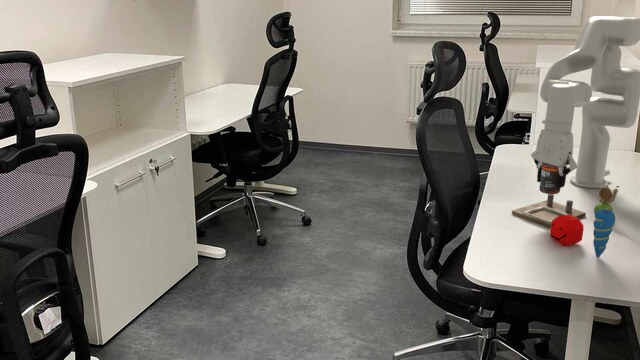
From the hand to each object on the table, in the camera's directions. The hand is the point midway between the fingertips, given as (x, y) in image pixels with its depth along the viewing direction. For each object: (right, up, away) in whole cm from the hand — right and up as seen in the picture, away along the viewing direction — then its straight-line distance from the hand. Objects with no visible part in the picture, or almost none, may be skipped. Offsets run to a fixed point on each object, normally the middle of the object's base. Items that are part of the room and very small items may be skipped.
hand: (550, 183), depth 187 cm
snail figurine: (+18, -11, +4) cm, 22 cm away
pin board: (+2, -10, +7) cm, 13 cm away
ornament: (+5, -20, -22) cm, 30 cm away
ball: (-1, -17, -12) cm, 21 cm away
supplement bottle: (0, -3, +1) cm, 3 cm away
